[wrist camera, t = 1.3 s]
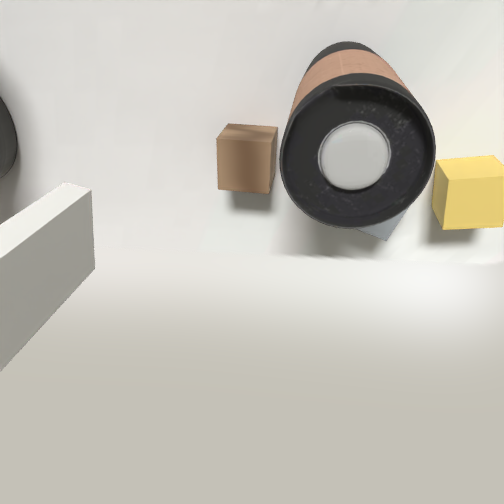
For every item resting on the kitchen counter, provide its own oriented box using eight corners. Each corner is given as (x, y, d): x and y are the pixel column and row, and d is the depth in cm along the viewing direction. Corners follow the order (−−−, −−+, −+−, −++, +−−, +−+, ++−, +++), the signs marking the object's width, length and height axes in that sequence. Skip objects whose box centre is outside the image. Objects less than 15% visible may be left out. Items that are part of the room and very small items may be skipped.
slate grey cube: (338, 199, 42) (339, 222, 38) (360, 158, 39) (364, 177, 35) (380, 216, 42) (386, 240, 38) (406, 176, 39) (415, 198, 35)
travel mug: (372, 133, 37) (406, 243, 21) (294, 120, 38) (266, 217, 21) (399, 44, 33) (468, 94, 16) (310, 31, 33) (291, 66, 17)
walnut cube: (229, 170, 42) (218, 189, 38) (228, 123, 39) (216, 138, 35) (274, 174, 41) (268, 193, 37) (277, 126, 38) (271, 142, 34)
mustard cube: (431, 205, 40) (442, 229, 36) (435, 159, 38) (448, 179, 34) (484, 202, 39) (502, 227, 35) (493, 154, 37) (513, 175, 32)
